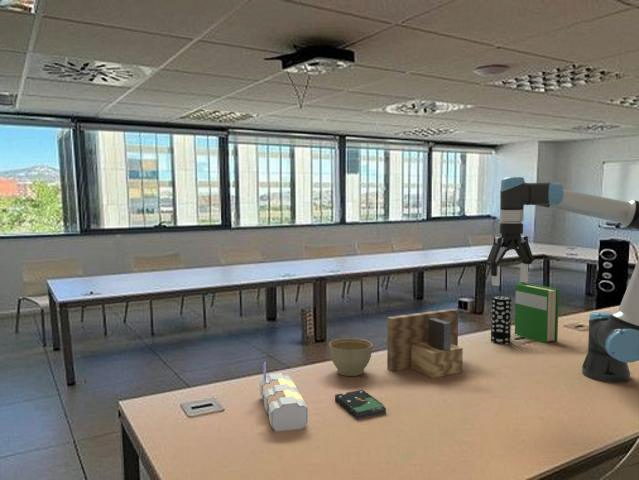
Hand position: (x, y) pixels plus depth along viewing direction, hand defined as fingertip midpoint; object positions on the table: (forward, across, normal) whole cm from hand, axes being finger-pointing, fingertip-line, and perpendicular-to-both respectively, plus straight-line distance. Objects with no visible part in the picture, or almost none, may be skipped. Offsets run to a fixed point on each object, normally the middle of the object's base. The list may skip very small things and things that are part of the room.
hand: (510, 283), depth 170 cm
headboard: (+35, +14, -23) cm, 44 cm away
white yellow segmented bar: (+35, +80, -14) cm, 88 cm away
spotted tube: (+35, -36, -37) cm, 62 cm away
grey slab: (+32, +14, -20) cm, 40 cm away
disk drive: (+36, +57, -6) cm, 68 cm away
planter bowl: (+35, +44, -34) cm, 66 cm away
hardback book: (+35, -55, -34) cm, 74 cm away
